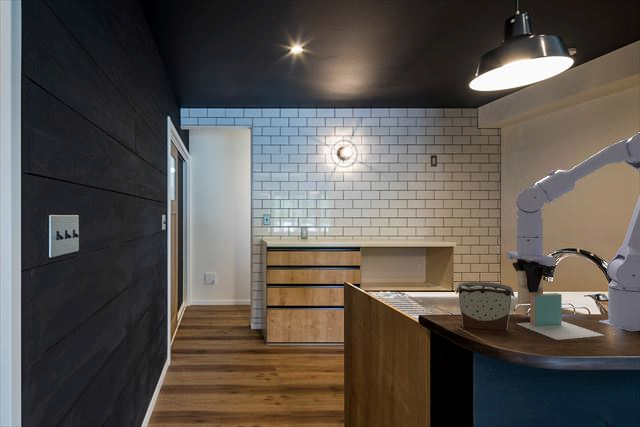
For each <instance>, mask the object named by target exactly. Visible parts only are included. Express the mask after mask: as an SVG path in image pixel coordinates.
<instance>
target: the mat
mask: <svg viewBox="0 0 640 427" xmlns="http://www.w3.org/2000/svg"><path fill="white" fill-rule="evenodd" d="M516 325H518V326H520V327H523V328H526V329H527V330H531V331H533V332H536V333H539V334H541V335H544V336H546V337H549V338H551V339H552V340H553V339H554V340H556V341H560V340H569V339H570V340H572V339H581V338H592V337H602V336H606V335H605V334H602V333H600V332H597V331H593V330H590V329H587V328H584V327H581V326H578V325H575V324H573V323H569V322H566V321H563V320H562V325H551V326H539V327H535V326H532V325H530V321H528V322H519V323H516Z"/></svg>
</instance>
